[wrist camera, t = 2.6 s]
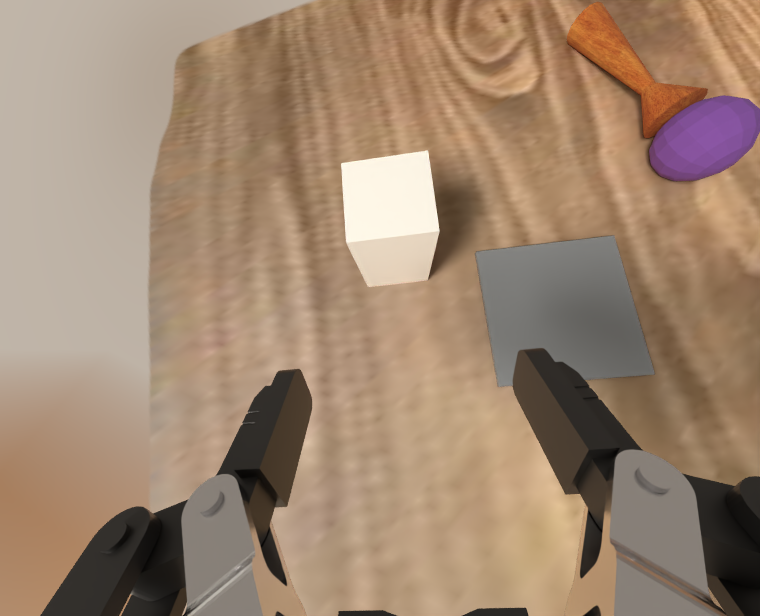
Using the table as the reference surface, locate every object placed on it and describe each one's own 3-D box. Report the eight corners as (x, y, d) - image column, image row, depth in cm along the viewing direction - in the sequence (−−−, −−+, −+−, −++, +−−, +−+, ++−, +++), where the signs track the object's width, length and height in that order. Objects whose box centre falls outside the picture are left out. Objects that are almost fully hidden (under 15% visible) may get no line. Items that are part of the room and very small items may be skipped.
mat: (474, 253, 25) (476, 251, 25) (610, 237, 24) (614, 235, 24) (497, 386, 23) (499, 386, 22) (650, 374, 22) (655, 374, 21)
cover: (363, 233, 27) (341, 163, 18) (420, 225, 26) (427, 150, 17) (368, 287, 26) (346, 242, 16) (427, 280, 25) (439, 231, 16)
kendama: (634, -22, 25) (808, 124, 19) (585, 55, 31) (708, 187, 25) (582, -15, 24) (748, 140, 18) (541, 63, 30) (659, 202, 24)
